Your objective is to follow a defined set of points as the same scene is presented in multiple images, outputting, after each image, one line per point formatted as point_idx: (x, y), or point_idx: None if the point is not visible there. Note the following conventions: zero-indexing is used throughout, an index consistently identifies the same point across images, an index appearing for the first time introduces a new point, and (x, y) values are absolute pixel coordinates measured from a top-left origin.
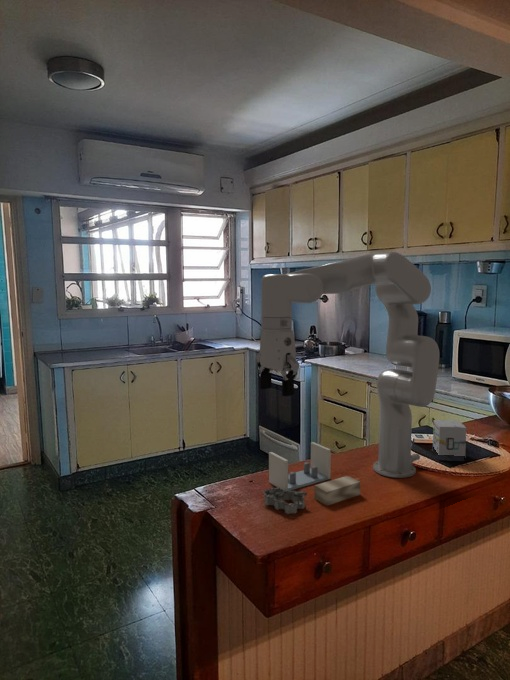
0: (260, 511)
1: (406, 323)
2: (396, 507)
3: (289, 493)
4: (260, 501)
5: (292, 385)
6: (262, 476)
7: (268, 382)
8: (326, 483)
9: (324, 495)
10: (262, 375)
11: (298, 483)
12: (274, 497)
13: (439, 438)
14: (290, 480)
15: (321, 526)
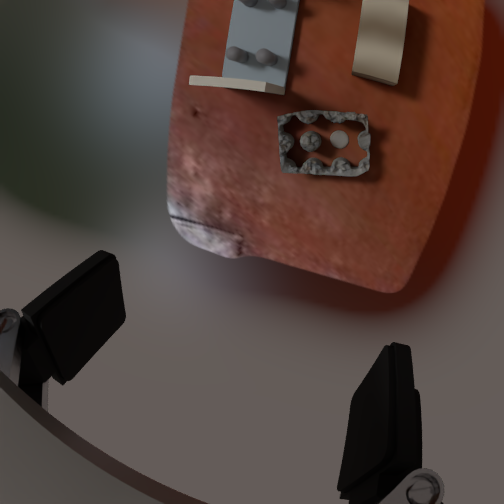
0: (311, 194)
1: None
2: (482, 18)
3: (317, 116)
4: None
5: (418, 435)
6: None
7: (94, 302)
8: (364, 43)
9: (388, 82)
10: (70, 377)
11: (280, 51)
12: (316, 165)
13: None
14: (268, 65)
15: (434, 166)
